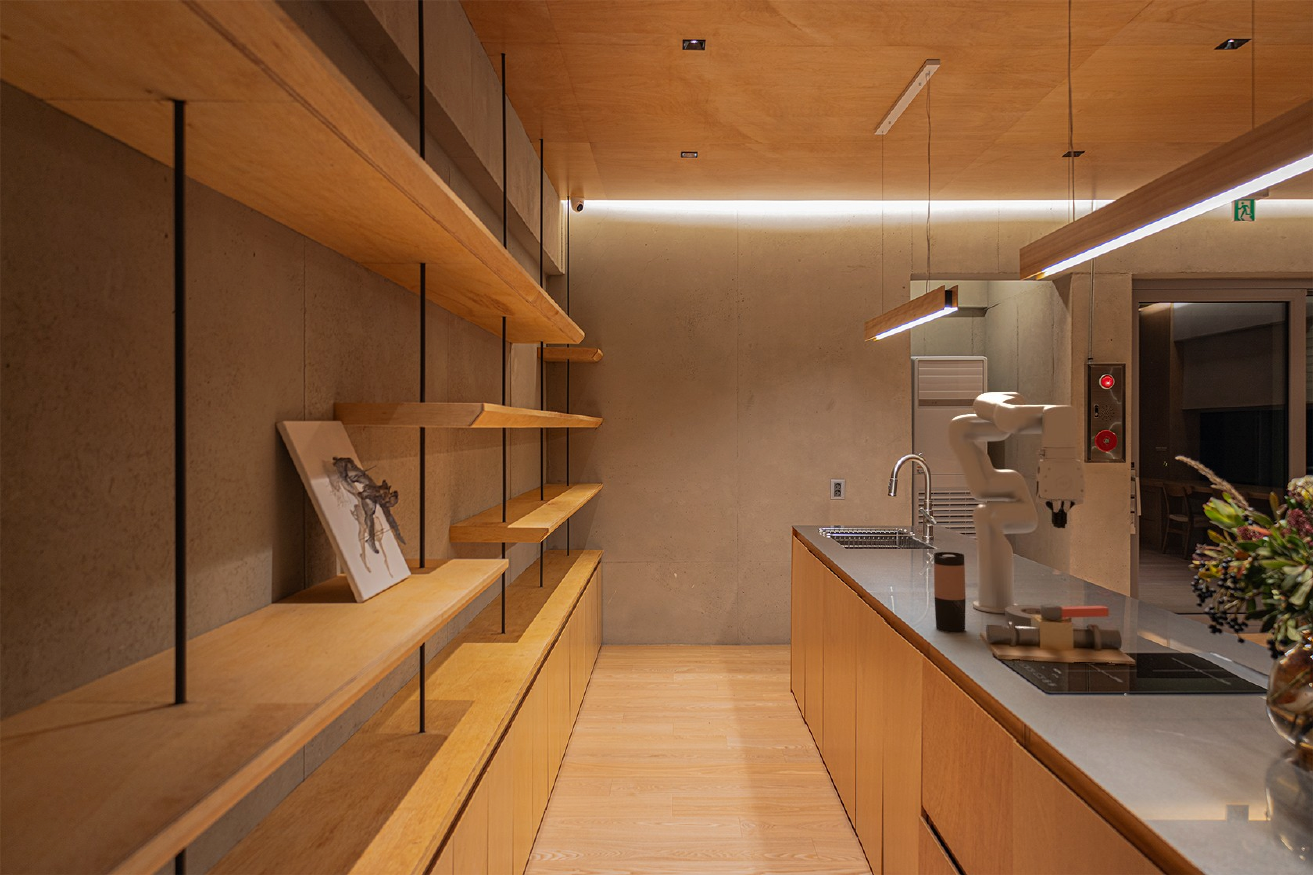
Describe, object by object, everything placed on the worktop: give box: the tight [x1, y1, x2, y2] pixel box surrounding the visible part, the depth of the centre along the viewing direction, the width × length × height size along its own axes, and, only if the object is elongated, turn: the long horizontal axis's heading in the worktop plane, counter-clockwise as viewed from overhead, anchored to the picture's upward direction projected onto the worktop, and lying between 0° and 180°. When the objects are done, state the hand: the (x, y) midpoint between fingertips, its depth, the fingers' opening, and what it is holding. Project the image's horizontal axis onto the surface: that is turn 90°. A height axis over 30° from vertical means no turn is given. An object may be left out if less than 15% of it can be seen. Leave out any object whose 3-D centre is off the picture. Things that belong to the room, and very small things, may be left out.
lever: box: [1040, 603, 1110, 620], centre depth 165 cm, size 15×4×3 cm, turn 91°
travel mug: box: [933, 551, 967, 634], centre depth 184 cm, size 8×8×20 cm
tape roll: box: [1004, 604, 1073, 626], centre depth 182 cm, size 15×15×5 cm
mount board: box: [979, 632, 1136, 665], centre depth 165 cm, size 28×18×1 cm, turn 77°
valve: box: [985, 614, 1123, 651], centre depth 165 cm, size 28×7×8 cm, turn 77°
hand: (1059, 527), depth 174 cm, fingers closed
